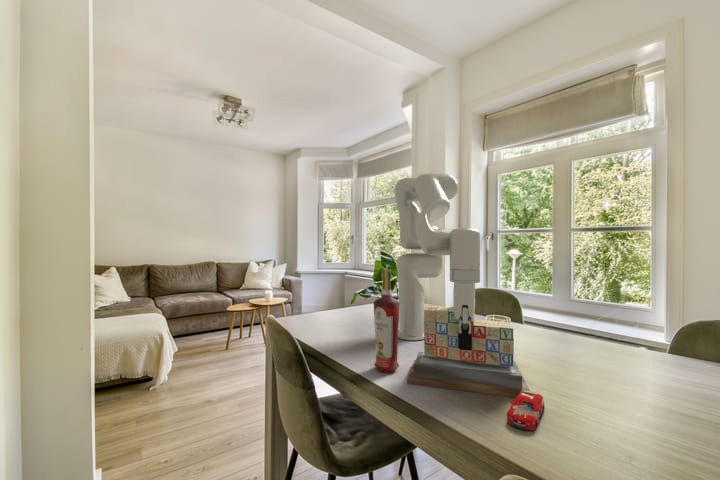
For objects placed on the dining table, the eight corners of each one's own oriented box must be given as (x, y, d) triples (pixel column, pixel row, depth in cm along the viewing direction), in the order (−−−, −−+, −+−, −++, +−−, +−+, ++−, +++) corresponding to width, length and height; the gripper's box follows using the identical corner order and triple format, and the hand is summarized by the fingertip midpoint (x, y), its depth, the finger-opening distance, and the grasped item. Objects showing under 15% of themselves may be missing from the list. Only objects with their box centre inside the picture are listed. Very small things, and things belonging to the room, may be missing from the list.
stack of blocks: (512, 358, 82) (511, 310, 82) (513, 367, 76) (513, 315, 77) (427, 348, 90) (427, 304, 90) (423, 355, 84) (423, 308, 85)
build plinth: (414, 365, 94) (414, 349, 94) (520, 376, 85) (520, 359, 85) (407, 383, 81) (407, 365, 81) (530, 399, 73) (530, 378, 73)
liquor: (368, 370, 90) (368, 269, 90) (382, 362, 96) (382, 268, 96) (390, 377, 85) (390, 271, 86) (404, 368, 91) (404, 269, 91)
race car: (534, 437, 59) (533, 415, 59) (503, 426, 63) (503, 406, 63) (548, 408, 69) (548, 390, 69) (520, 401, 73) (520, 383, 73)
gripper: (450, 272, 93) (450, 334, 93) (448, 279, 77) (448, 354, 76) (478, 273, 91) (478, 337, 91) (482, 280, 74) (482, 358, 74)
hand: (464, 344), depth 84 cm, fingers closed on stack of blocks, 6 cm apart
